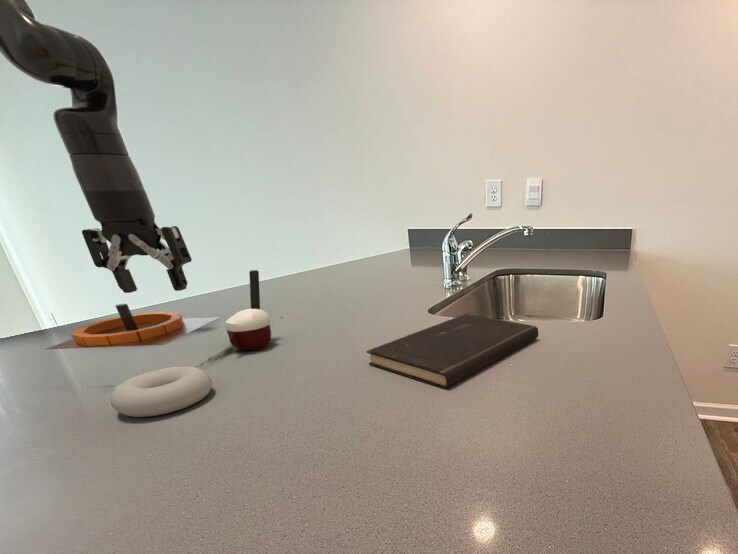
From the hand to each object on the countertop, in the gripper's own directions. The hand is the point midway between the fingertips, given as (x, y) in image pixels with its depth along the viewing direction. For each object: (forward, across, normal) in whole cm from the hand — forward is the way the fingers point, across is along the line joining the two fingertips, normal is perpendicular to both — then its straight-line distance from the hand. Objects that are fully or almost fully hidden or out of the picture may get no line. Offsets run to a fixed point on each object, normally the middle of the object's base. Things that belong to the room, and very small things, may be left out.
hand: (155, 290), depth 71 cm
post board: (+9, +5, 0) cm, 10 cm away
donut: (+9, -17, +27) cm, 33 cm away
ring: (+7, +7, 0) cm, 10 cm away
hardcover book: (+9, -53, +13) cm, 55 cm away
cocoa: (+9, -18, +7) cm, 21 cm away
